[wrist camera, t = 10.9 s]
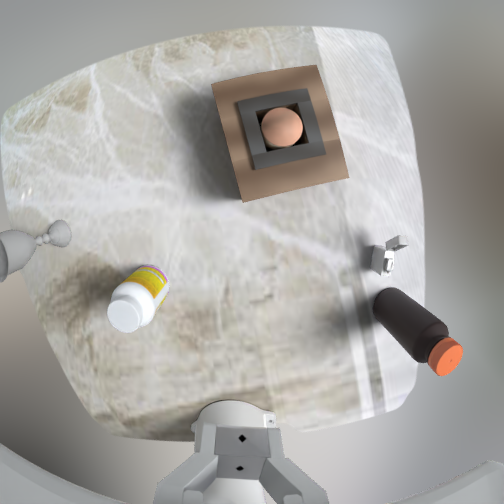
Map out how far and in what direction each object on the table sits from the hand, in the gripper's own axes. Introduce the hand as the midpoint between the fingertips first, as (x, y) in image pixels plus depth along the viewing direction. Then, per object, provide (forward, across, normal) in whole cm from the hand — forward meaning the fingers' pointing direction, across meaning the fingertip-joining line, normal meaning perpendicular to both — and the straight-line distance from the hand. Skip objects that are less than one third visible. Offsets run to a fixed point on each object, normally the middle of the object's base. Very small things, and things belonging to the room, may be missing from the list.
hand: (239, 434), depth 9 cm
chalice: (+35, -33, -1) cm, 48 cm away
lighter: (+35, +23, +3) cm, 42 cm away
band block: (+35, +3, +17) cm, 39 cm away
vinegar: (+35, +28, -7) cm, 45 cm away
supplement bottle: (+35, -14, -8) cm, 39 cm away
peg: (+35, +3, +17) cm, 39 cm away
